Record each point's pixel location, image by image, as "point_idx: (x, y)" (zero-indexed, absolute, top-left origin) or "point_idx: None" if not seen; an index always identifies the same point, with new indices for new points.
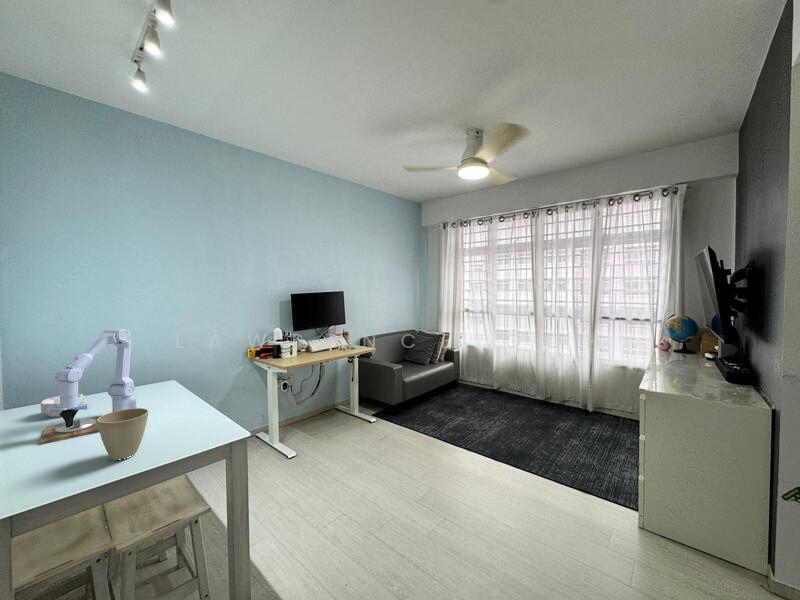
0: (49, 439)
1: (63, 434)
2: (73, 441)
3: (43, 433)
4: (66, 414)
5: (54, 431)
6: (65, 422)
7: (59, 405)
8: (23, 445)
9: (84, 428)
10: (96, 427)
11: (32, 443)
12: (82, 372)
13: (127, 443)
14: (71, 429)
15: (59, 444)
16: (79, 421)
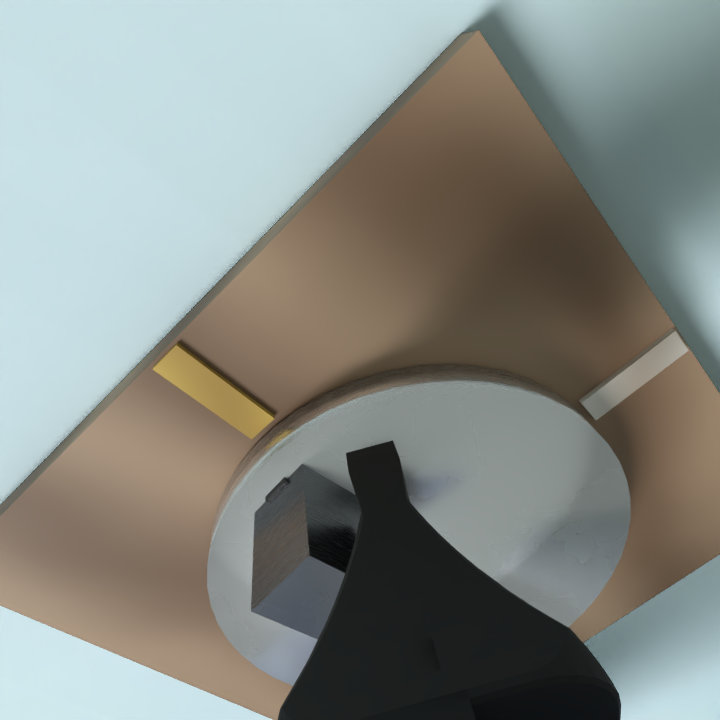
0: (401, 144)
1: (360, 340)
2: (3, 194)
3: (684, 341)
4: (365, 687)
5: (583, 406)
6: (403, 499)
7: None
8: (714, 3)
9: (215, 515)
10: (119, 571)
11: (629, 88)
12: None
13: None
14: (313, 439)
15: (117, 58)
16: (259, 594)
